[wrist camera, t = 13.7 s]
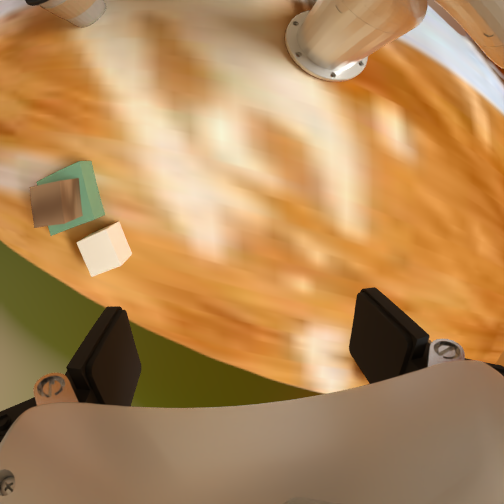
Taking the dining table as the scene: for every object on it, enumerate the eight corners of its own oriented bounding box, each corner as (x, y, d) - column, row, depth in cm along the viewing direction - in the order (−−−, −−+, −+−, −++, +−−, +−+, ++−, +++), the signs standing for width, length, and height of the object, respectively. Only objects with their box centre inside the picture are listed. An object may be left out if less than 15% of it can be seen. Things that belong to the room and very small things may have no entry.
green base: (50, 179, 33) (36, 182, 29) (92, 161, 33) (79, 161, 30) (64, 229, 36) (50, 235, 32) (105, 214, 36) (94, 219, 32)
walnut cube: (50, 183, 30) (29, 187, 25) (78, 178, 30) (59, 180, 25) (54, 219, 31) (34, 227, 26) (82, 215, 32) (64, 223, 27)
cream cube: (91, 233, 36) (76, 242, 31) (119, 221, 36) (106, 229, 31) (104, 264, 38) (91, 276, 33) (132, 253, 38) (121, 265, 33)
